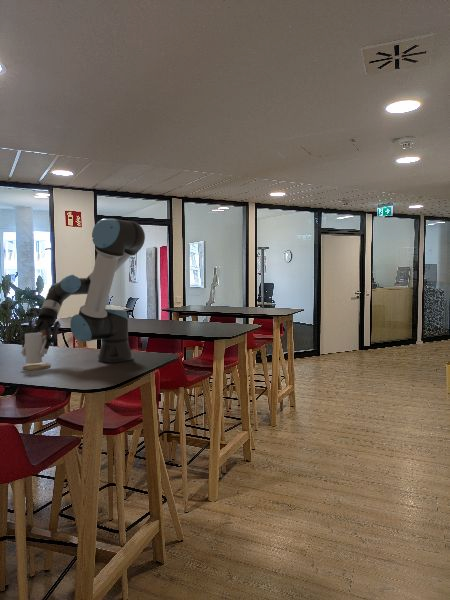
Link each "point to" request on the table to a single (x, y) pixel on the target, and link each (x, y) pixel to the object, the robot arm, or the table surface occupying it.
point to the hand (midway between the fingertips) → (32, 354)
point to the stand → (36, 366)
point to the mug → (34, 347)
